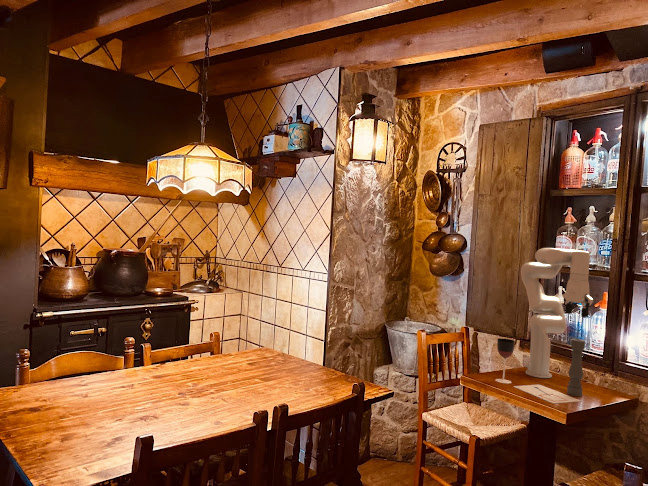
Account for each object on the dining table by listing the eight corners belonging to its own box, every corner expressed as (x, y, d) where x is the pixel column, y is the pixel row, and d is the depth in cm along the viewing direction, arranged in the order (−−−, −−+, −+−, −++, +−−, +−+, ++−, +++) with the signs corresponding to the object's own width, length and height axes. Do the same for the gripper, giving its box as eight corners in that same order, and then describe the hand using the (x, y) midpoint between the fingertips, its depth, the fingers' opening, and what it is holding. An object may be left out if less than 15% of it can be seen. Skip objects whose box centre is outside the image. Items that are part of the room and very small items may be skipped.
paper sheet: (513, 386, 240) (513, 386, 240) (539, 385, 246) (539, 384, 246) (553, 403, 218) (553, 402, 218) (581, 401, 223) (581, 400, 223)
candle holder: (583, 397, 230) (587, 341, 230) (569, 395, 232) (572, 340, 231) (579, 392, 236) (583, 339, 236) (565, 391, 238) (569, 338, 237)
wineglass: (495, 382, 246) (497, 341, 246) (494, 377, 254) (497, 337, 254) (512, 384, 244) (515, 343, 243) (511, 380, 252) (514, 339, 252)
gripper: (558, 275, 240) (555, 311, 240) (587, 279, 223) (584, 318, 224) (571, 276, 242) (569, 312, 242) (600, 280, 226) (598, 318, 226)
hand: (576, 315), depth 233 cm, fingers open, 9 cm apart
